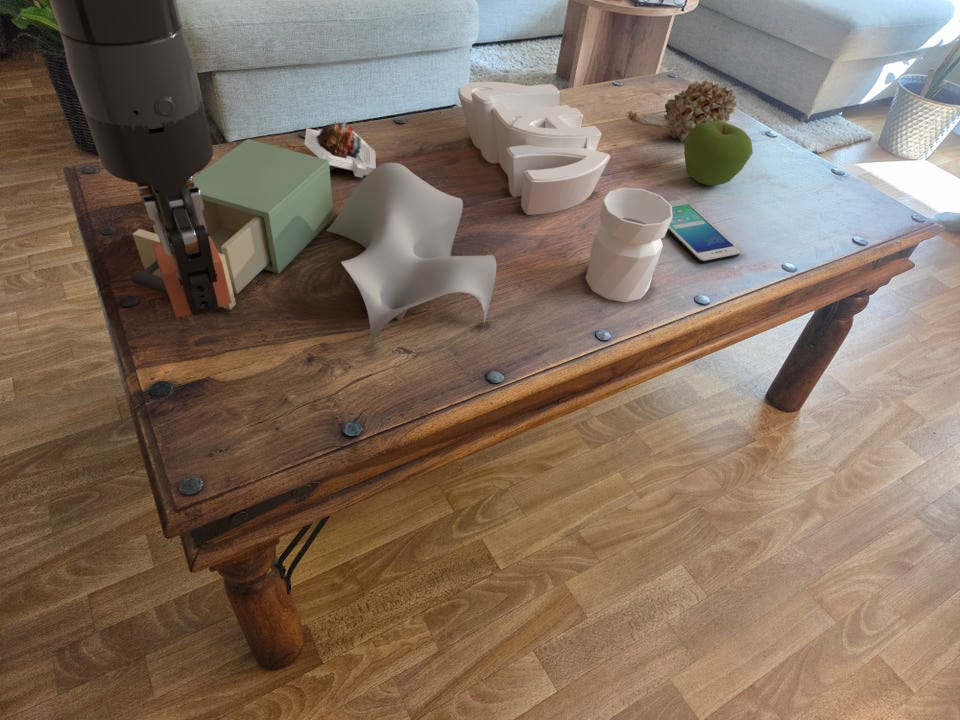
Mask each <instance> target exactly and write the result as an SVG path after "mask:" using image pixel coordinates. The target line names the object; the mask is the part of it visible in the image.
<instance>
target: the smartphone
mask: <svg viewBox="0 0 960 720" xmlns="http://www.w3.org/2000/svg"><path fill="white" fill-rule="evenodd" d="M667 202H668V203H669V204H670V205H671V206H672V214H673V217H672V220H671V222H670V225H669V227H668V230H667V232H666V233H668V234H669V235H670V236H671V237H672V238H673V239H674V240H675V241H676V242H677V243H678V244H679V245H680V246H681V247H682V248H683V249H684V250H685V251H686V252H687V253H688V254H689V255H690V256H691V257H692V258H693V259H694V260H695V261H696V262H698V263H700V264H706V263H712V262H717V261H722V260H727V259H731V258H733V259H734V258H738V257H739V256H740V255H741V249H740V248H739V246H738V245H736V244H735V243H734V242H733V241H732V240H731V239H729V237H727V236H726V235H725V234H724V233H723V232H722V231H720V230H719V228H718V227H716V225H714V224H713V223H712V222H711V221H709V219H707V218H706V217H705V216H704V215H703V214H702V213H701V212H700V211H699V210H697V209H696V208H695V207H694V206H693V205H692V204H691V203H690V202H689V201H688V200H686V199H675V200H669V201H667Z"/></svg>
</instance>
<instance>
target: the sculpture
mask: <svg viewBox="0 0 960 720" xmlns="http://www.w3.org/2000/svg"><path fill="white" fill-rule="evenodd" d="M463 210H464V202H463V200H462V198H460V197H456V196H454V195H450V194H448V193H446V192H443V191H441V190H439V189H437V188H436V187H434V186H432V185H430V184H429V183H427V182H426V181H425V180H423V179H422V178H420V177H419V176H418V175H417V174H414V173H413V172H412V171H411V170H410V169H408V168H407V167H406V166H405V165H403V164H401V163H397V162H387V163H383V164H381V165H379V166H376V168H375V169H374V170H373V171H371V172H370V173H369V174H368V175H367V176H366V175H365V177H363V178H362V180H361V181H360V183H359V184H358V185H357V187H356V188H355V189H354V190H353V192H352V194H351V196H350V197H349V199H348V200H347V202H346V203H345V205H344V206H343V208H342V209H341V211H340V213H339V214H338V215H337V217H336V218H335V219H334V221H332V223H331V225H329V227H328V228H327V229H326V230H325V232H330V233H332V234H336V235H339V236H342V237H345V238H346V239H347V238H348V239H350V240H352V241H353V242H356V243H358V244H360V245H361V246H362V247H364V248H365V250H364V251H362V252H361V253H360V254H358V255H356V256H355V257H353V258H350V259H346V260H343V261H340V262H341V265H342V266H343V267H344V269H345V270H346V271H347V273H348V274H349V276H350V277H351V278H352V280H353V282H354V284H355V285H356V287H357V288H358V290H359V292H360V295H361V296H362V299H363V301H364V304H365V308H366V311H367V315H368V322H369V333H370V334H369V335H370V336H369V346H368V349H369V350H370V349H371V347H372V345H373V343H374V341H375V339H376V338H377V337H378V335H379V333H380V332H382V330H383V329H384V328H385V326H387V324H389V322H391V321H392V320H393V319H394V320H395V319H396V320H397V321H402V319H403V318H404V317H405V315H406V313H407V311H408V310H409V309H411V308H413V307H416V306H418V305H421V304H424V303H426V302H429V301H432V300H435V299H437V298H439V297H442V296H446V295H448V294H449V295H450V294H453V293H454V294H455V293H464V294H465V293H466V294H469V295H472V296H473V297H475V298H476V299H477V300H478V302H479V303H480V305H481V308H482V310H483V321H484V322H483V324H485V323H486V319H487V316H488V312H489V309H490V305H491V302H492V301H491V300H492V297H493V293H494V292H493V291H494V288H495V284H496V277H497V259H496V257H495V256H494V255H493V254H488V255H452V249H453V245H454V242H455V238H456V234H457V230H458V227H459V224H460V222H461V218H462V213H463ZM484 326H485V325H483V327H484Z"/></svg>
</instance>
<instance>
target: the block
mask: <svg viewBox="0 0 960 720" xmlns="http://www.w3.org/2000/svg"><path fill="white" fill-rule="evenodd" d="M209 238H210V241H211V244H210V248H211V253H212V258H213V263H214V268H215V270H216V273H217V276H218V277H216V278H217V282H213V286H214V290H215V294H216V298H217V302H218V308H219V307H220V306H223V305H227V304H231V303H232V302H231V297H230V293H229V289H228V285H227V281H226V276H225V272H224V268H223V264H222V260H221V258H220V256H219V254H218V252H217V250H216V248H215V246H214V244H213V241H212V239H211V237H210V236H209ZM152 247H153V250H154V253H155V256H156V259H157V263H158V266H159V269H160V272H161V275H162V278H163V281H164V284H165V287H166V290H167V293H168V294H167V295H168V297H169V300H170V303H171V306H172V309H173V311H174V314H175V317H176V318H180V317H185V316H189V315H193V314H192V313H191V311H190V308H189V305H188V302H187V299H186V295H185V292H184V289H183V285H180V282H179V279H177V276H176V273H175V272H177V270H176V267H175V264H174V260H173V257H171V256H168V255H166V254H165V253H164V251H163V249H162V246H161V243H160V242H158V243H154V244H152Z"/></svg>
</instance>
